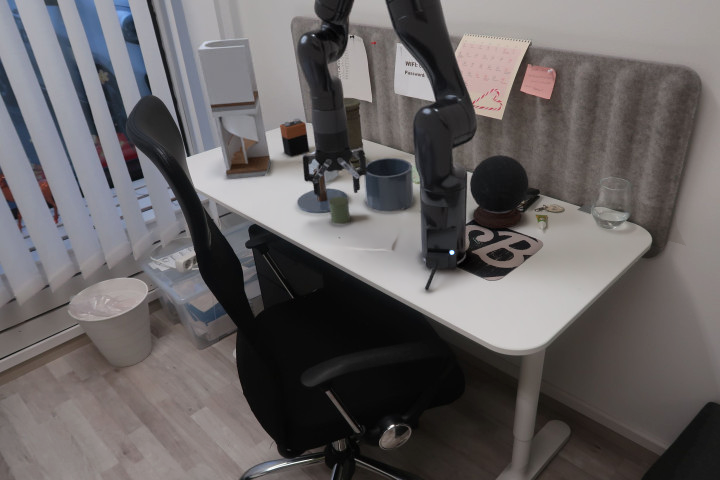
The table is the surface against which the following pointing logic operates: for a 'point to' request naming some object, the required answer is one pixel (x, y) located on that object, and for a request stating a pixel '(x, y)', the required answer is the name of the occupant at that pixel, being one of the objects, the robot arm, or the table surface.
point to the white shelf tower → (235, 106)
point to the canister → (389, 184)
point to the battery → (294, 137)
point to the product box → (327, 174)
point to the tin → (339, 210)
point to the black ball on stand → (498, 191)
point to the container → (353, 127)
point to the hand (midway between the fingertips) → (337, 193)
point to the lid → (319, 198)
